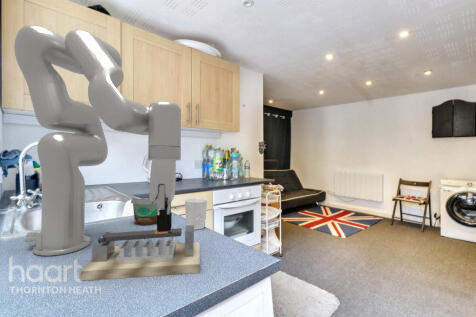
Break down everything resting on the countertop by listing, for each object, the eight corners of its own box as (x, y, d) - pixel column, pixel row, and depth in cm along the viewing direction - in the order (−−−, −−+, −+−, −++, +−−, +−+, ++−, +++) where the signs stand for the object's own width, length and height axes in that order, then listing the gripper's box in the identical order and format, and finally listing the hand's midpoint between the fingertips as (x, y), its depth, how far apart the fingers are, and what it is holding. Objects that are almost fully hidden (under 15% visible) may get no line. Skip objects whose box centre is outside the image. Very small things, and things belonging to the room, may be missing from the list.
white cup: (207, 224, 88) (208, 198, 88) (205, 230, 80) (205, 202, 80) (186, 223, 88) (187, 197, 88) (182, 230, 80) (183, 201, 80)
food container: (127, 227, 82) (128, 199, 82) (130, 222, 88) (131, 196, 88) (164, 225, 85) (164, 198, 85) (164, 220, 91) (164, 195, 91)
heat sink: (87, 266, 49) (88, 238, 49) (104, 249, 58) (104, 225, 58) (193, 260, 53) (193, 234, 53) (193, 245, 62) (194, 222, 62)
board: (80, 280, 47) (80, 271, 47) (105, 254, 60) (105, 246, 60) (199, 272, 51) (199, 263, 51) (199, 249, 64) (199, 242, 64)
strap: (97, 243, 52) (97, 236, 52) (104, 237, 56) (104, 231, 55) (180, 237, 55) (180, 231, 55) (181, 231, 59) (181, 226, 59)
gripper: (154, 154, 62) (153, 222, 62) (141, 153, 48) (140, 242, 48) (182, 154, 64) (182, 221, 64) (178, 154, 49) (177, 240, 49)
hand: (164, 229), depth 56 cm, fingers closed
